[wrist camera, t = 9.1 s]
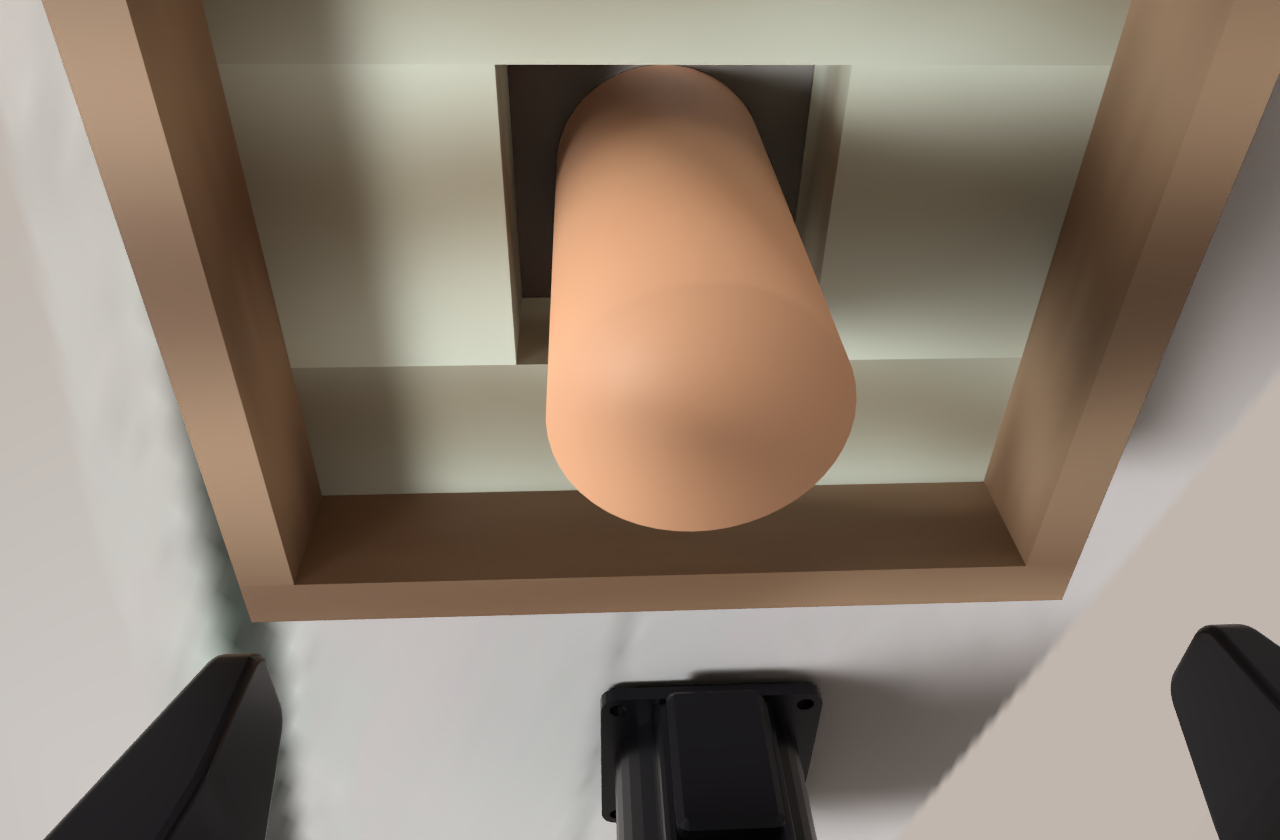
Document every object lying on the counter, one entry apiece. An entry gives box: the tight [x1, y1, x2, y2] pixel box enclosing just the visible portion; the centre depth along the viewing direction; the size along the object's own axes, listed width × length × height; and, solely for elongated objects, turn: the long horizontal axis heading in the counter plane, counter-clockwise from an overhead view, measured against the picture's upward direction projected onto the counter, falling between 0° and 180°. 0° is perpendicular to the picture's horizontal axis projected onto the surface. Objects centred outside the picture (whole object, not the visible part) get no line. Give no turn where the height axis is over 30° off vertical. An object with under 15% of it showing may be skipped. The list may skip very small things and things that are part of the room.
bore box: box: [42, 0, 1280, 622], centre depth 17 cm, size 14×16×5 cm
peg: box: [546, 65, 857, 532], centre depth 16 cm, size 4×4×8 cm
